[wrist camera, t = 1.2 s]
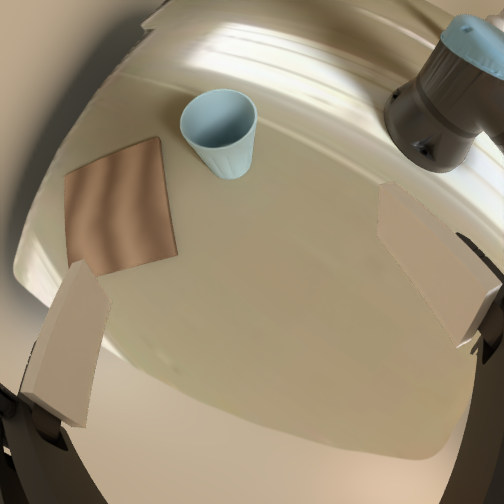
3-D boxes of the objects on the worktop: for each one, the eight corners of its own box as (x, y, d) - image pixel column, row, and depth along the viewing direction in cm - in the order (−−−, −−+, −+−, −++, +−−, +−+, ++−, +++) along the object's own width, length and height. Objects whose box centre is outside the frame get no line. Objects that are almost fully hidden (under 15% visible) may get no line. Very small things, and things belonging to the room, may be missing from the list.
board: (160, 140, 36) (158, 136, 35) (178, 255, 34) (175, 254, 33) (68, 177, 36) (64, 175, 35) (74, 282, 34) (70, 282, 33)
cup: (255, 191, 34) (250, 152, 24) (196, 185, 35) (171, 147, 25) (263, 139, 35) (261, 90, 25) (208, 135, 36) (189, 88, 25)
